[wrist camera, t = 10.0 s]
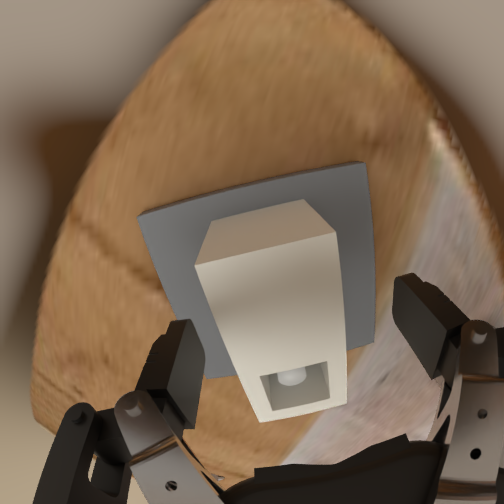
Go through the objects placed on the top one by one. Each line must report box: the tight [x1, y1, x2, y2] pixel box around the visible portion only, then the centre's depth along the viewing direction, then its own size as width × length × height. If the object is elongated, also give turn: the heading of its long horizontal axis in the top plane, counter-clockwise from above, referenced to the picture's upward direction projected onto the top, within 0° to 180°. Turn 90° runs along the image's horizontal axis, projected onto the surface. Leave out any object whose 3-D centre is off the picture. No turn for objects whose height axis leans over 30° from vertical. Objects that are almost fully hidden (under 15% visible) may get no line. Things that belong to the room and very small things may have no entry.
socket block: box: [194, 199, 347, 422], centre depth 15 cm, size 5×11×6 cm, turn 14°
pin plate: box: [137, 161, 376, 386], centre depth 16 cm, size 14×14×6 cm
